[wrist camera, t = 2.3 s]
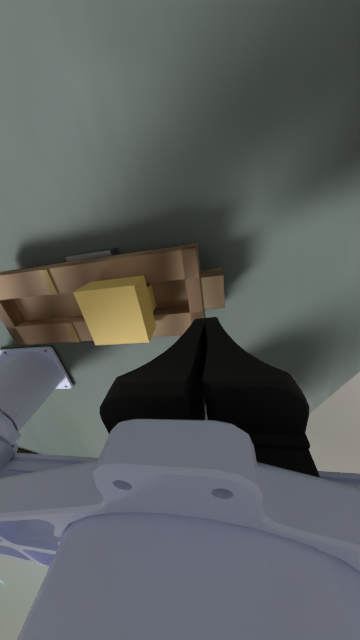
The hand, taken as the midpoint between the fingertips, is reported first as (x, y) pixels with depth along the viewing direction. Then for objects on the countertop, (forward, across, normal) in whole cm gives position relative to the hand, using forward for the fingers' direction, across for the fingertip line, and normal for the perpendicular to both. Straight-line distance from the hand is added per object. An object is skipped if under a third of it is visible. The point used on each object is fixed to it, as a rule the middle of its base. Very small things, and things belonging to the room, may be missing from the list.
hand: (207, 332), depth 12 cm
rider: (+8, +8, 0) cm, 11 cm away
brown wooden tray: (+9, +11, 0) cm, 14 cm away
